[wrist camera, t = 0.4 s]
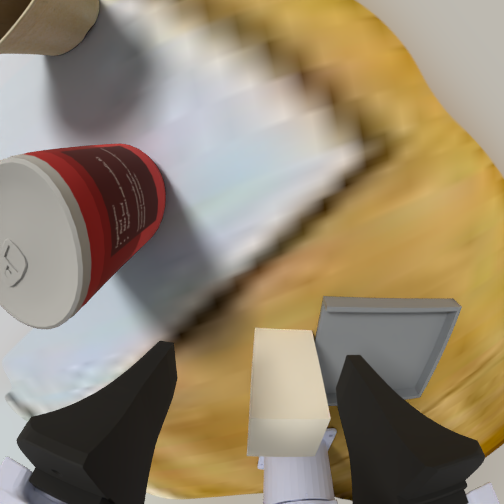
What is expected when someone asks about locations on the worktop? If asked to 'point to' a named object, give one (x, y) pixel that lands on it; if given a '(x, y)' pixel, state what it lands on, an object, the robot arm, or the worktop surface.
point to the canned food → (72, 225)
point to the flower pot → (45, 25)
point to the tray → (384, 339)
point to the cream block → (286, 395)
